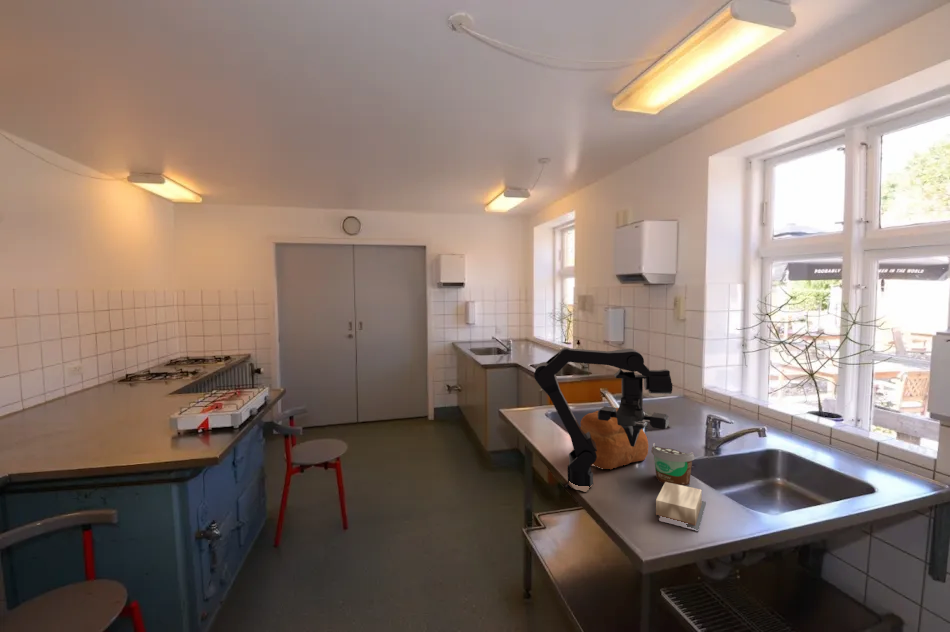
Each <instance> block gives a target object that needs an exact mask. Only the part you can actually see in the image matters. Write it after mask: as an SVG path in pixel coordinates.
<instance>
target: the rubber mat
mask: <svg viewBox="0 0 950 632" xmlns="http://www.w3.org/2000/svg"><path fill="white" fill-rule="evenodd" d="M706 503H707V502H706V501H704V500H702V504H701V508H700V511H699V515H698V518H697V522H696V525H692V524H686V525H687V527H691V528H694V529H696V530H698V529H699V530H700V527H699V526H701V523H702V519H703V516H702V515H704V512H705V508H706ZM703 511H704V512H703ZM700 522H701V523H700ZM699 530H698V531H699Z"/></svg>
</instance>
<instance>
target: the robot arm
mask: <svg viewBox="0 0 950 632" xmlns="http://www.w3.org/2000/svg"><path fill="white" fill-rule="evenodd" d="M568 363H575V364H576V363H577V364H586V365H587V364H588V365H589V364H590V365H602V366H611V367H614V368H617V369H618V371H616V372H615V373H614V377H615V378H616V379H621V397H620V404H619V406H618V407H613V406H603V407H601V408H600V409H598V410H597V411H598V419H599V420H605V421H608V420H609V419H611V417H614V418H617V424H618V425H621V426H622V427H623V428H624V430H625V432H626V434H627V437H628V440H629V442H630V445H631V446H633V447H634V446H635V443H636V441H637V438H638V435H639V433H640V430H641V429H645V428H646V426H647V425H649V424H650V426H651V427H652V428H653V429H660V430H665V429H667V427H668V426H669V424H670V417H669V415H668V414H667V413H659V412H653V414H651V415H647V414H645V411H644V392H643V390H646V391H648V394H654V395H655V394H657V395H658V394H659V395H663V394H664V395H665V394H666V395H671V394H672V393H673V383H672V378H671V370H669V369H650V368H649V367H647V366H646V365H645V360H644V356H643V355H642V354H641V353H640V352H639V351H637V350H636V349H633V348H623V349H621V348H620V349H616V350H608V351H607V350H595V349H594V350H593V349H579V348H569V347H562V348H561V349H560V350H559V351H558V352H557V353H556V354H555V355H553V356H551V357H550V358H549V359H548V360H547V361H542V362H540V363H538V364H537V366H536V367H535V371H534V374H533V377H534V380H535V382H536V383H537V384H538V386H540V388H541V390H543V392H544V393H545V394H546V395H548V397H549V399H550V400H551V403H552V405H553V407H554V408H555V410H556V412H557V414H558V416H559V418H560V420H561V422H562V424H563V426H564V427H565V429H566V431H567V433H568V436H569V438H570V440H571V443H572V447H573V450H571V451H570V452H569V453H568V459H569V460H568V462H569V463H568V465H567V484H565V488H566V489H569V490H570V489H571V487H570V486H569V485H568V482H569V481H570V482H571V483H573V484H575V485H578V486H589V487H590V486H591V485H592V484H593V485H594V472H593V471H592V466H591V465H592V464H593V463H594V462H595V461H596V458H597V455H596V451H597V448H596V443H595V442H594V441H593V439H592V438H591V435H590V432H587V433H586V434H585V433H584V432H583V431H582V429H581V428H580V427H581V425H580V424H579V422H578V420H577V418H576V417H575V415H574V412H573V411H572V408H570V405H569V403H568V401H567V399H566V398H565V396H564V393H563V392H562V389H561V387H560V385H559V381H558V378H557V375H556V374H558V373H559V372H560V371H561V370H562V369H563V368H564V367H565V366H566V365H567V364H568ZM623 370H624V371H623ZM636 372H637V373H639V374H635V373H636ZM643 388H644V389H643ZM616 408H618V410H617V411H616ZM648 423H649V424H648ZM571 490H572V489H571Z"/></svg>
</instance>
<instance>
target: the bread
mask: <svg viewBox="0 0 950 632" xmlns="http://www.w3.org/2000/svg"><path fill="white" fill-rule="evenodd" d="M615 408H616V411H617V410H618V408H619V407H615ZM598 411H599V410H596V411H593V412H589V413H587V414H585V415H584V416H583V417H582V418H581V420H580V428H581V429H582V431H583V432H584V433H585V434H586V433H587V432H590V435H591V438H592V439H593V441H594V442H595V443H596V448H597V451H596V455H597V458H596V461H595V462H594V463H593V464H594V465H595V466H598V467H600V468H603V469H610V470H613V468H615V469H616V468H619V467H623V465H624V466H626V465H629V464H630V463H637V462H641V461H644V460H646V458H647V456H648V454H649V440H648V437H647V434H646V433H645V431H644V430H643V429H644V428H643V429H641V430H640V433H639V435H638V438H637V441H636V443H635V446H634V447H633V446H631V445H630V442H629V440H628V437H627V434H626V432H625V430H624V428H623V427H622V426H621V425H618V424H617V418H614V417H611V419H609V420H608V421H605V420H599V419H598ZM603 469H602V470H603Z"/></svg>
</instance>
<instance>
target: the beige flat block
mask: <svg viewBox="0 0 950 632" xmlns="http://www.w3.org/2000/svg"><path fill="white" fill-rule="evenodd" d="M702 495H703V494H702V489H700V488H696V487H690V486H688V485H687V486H682V485H678V484H673V483H668V482H665V483H664V484H663V486H662V487H661V489H660V492H659V493H658V495H657V497H656V500H655V515H656V516H657V515H659V516H662V517H666V518H670V519H673V520H677V521H681V522H684V523H688V524H692V525H696V522H697V518H698V515H699V511H700V508H701V504H702V501H703V500H702ZM659 516H658V517H659Z"/></svg>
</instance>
